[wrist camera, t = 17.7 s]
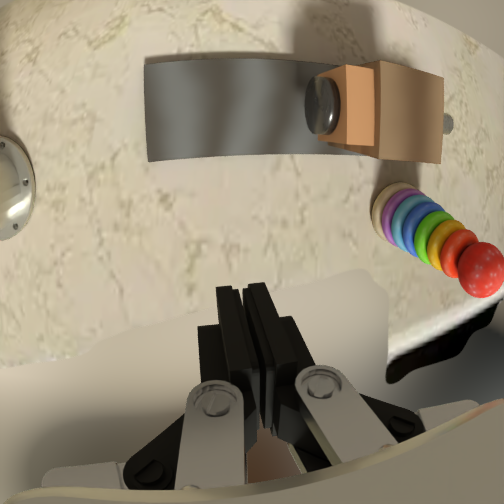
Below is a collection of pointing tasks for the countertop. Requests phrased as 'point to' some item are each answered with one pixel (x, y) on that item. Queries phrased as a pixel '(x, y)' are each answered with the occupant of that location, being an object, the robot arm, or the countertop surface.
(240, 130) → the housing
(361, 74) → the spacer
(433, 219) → the stacking toy
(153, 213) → the countertop surface
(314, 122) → the shaft
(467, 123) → the countertop surface
